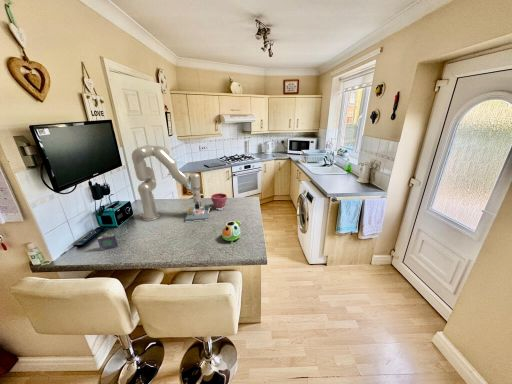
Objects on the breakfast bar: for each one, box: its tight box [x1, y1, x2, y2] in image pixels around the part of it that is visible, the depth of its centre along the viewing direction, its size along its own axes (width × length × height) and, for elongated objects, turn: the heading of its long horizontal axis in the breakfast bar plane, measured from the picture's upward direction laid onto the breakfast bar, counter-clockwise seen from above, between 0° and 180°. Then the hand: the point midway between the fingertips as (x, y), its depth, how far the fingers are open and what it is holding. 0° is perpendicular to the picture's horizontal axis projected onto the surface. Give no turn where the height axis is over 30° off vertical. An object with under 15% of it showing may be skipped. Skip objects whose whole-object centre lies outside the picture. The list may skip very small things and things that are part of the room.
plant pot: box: [210, 192, 228, 209], centre depth 186 cm, size 14×14×13 cm
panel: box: [185, 206, 212, 222], centre depth 175 cm, size 18×24×4 cm
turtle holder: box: [221, 220, 242, 243], centre depth 141 cm, size 12×18×12 cm
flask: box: [97, 232, 119, 252], centre depth 128 cm, size 9×3×11 cm, turn 117°
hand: (197, 208), depth 170 cm, fingers closed
